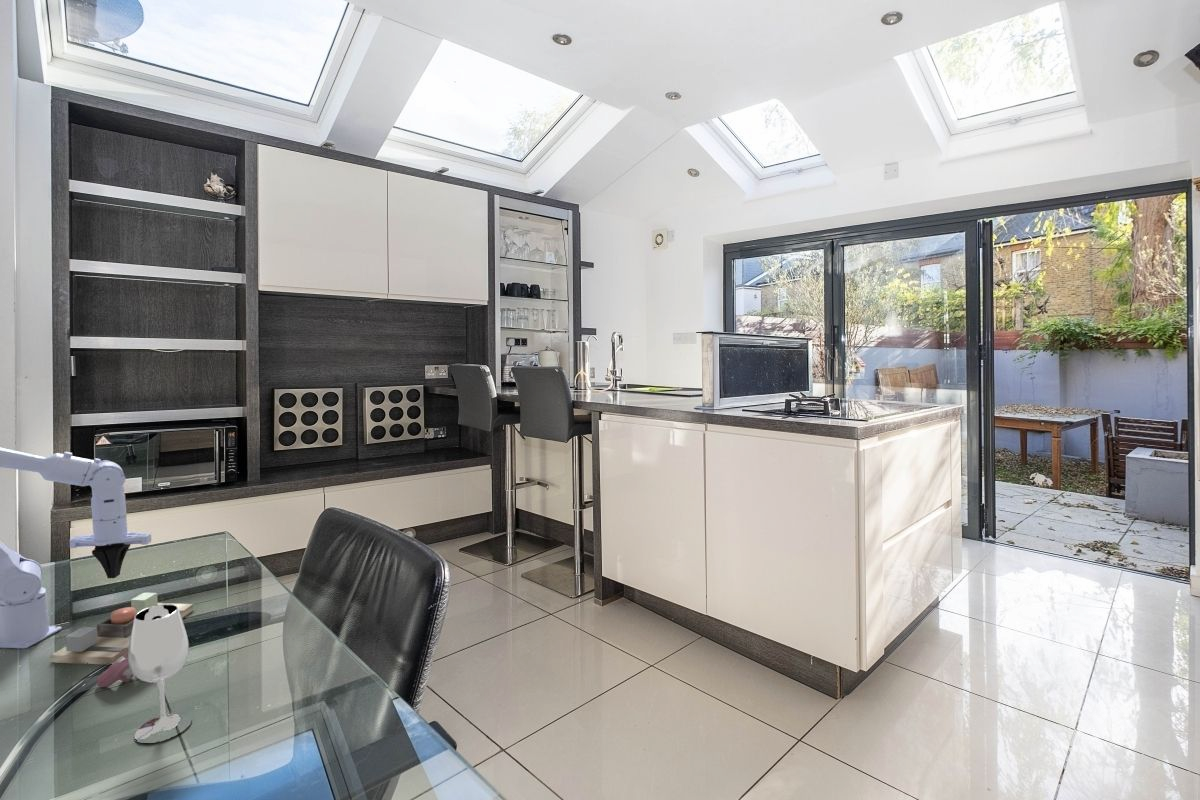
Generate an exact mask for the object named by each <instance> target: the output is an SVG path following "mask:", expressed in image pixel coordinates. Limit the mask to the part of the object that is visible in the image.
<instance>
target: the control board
mask: <svg viewBox="0 0 1200 800" xmlns="http://www.w3.org/2000/svg"><path fill="white" fill-rule="evenodd" d="M165 604H171V605H175V606H177V607H178V610H179V612H180V615H181V618H182V619H183V618H184V617H186V616H188V615H189V614H190V613H192V612H193V611H194V609H195V608H194V603H169V602H166V603H165V602H158V605H165ZM137 613H139V612H136V614H137ZM133 622H134V620H132V621H131V622H129V623H127V624H124V625H122V624H111V616H110V617H109V618H106V619H105V620H103V621H102V622H100V623H98V624H97V625H96V628H97V634H98V642H97V643H95V644H94V645H92V646H90V647H89V648H87V649H85V650H84V651H82V652H76V651H67V650H66V645H65V646H64V647H62V648H61V649H59V650H56V651H55V652H54V653H51V654H50V662H51V663H52V662H55V664H57V663H58V664H81V665H82V664H83V665H84V664H85V665H86V664H87V663H88V664H87V665H90V664H91V665H107V664H106V663H109V664H108V665H110V663H113V662H115V661H116V660H117V659H118V658H120V657H122V656H124V655H125V654H126V653H127V652H128V649H129V643H130V637H131V632H132V627H133Z"/></svg>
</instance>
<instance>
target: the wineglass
mask: <svg viewBox="0 0 1200 800" xmlns="http://www.w3.org/2000/svg"><path fill="white" fill-rule="evenodd" d="M189 643H190V642H189V638H188V634H187V630H186V627H185V624H184V621H183V618H181V615H180V612H179V610H178V607H177V606H175V605H171V604H165V605H158V606H153V607H150V608H147V609H144V610H142V611H140V612H139V613H137V614H136V615H135V618H134V622H133V627H132V632H131V637H130V643H129V649H128V665H129V669H130V671H131V673H132V674H133V675H134V676H133V677H135V678H136V679H137V680H140V681H142V682H146V683H155V684H156V686H157V689H158V697H159V712H160V713H159V714H160V715H159V716H160V717H159V718H156V717H154V718H152V719H150V720H148V721H146V722H145V723H144V724H142V725H141V726H139V728H138V729H136V731H135V732H134V737H135V738H134V740H135V739H145V738H147V737H149V736H150V735H151V734H154V733H156V732H159V731H166V730H171V729H172V728H175V727H176V726H177V725H178V722H179V721H180V719H181V718H180V717H179V715H178V714H175V713H173V712H170V713H171V714H168V713H167V712H166V698H165V684H166V680H168V679H170V678H172V677H173V676H174V675H175V674H177V673H178V672H179V671H180V670H181V669H182V668H183V666H184V665H185V663H186V661H187V659H188V657H189V654H190V652H189V651H190V644H189ZM166 714H168V715H166Z"/></svg>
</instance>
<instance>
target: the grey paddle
mask: <svg viewBox="0 0 1200 800" xmlns="http://www.w3.org/2000/svg"><path fill="white" fill-rule="evenodd" d="M64 637H65V646H66V650H67V651H76V652H82V651H84V650H85V649H87V648H89V647H90V646H92V645H94V644H95V643H97V642H98V634H97V627H92V626H91V627H89V626H87V627H86V626H85V627H84V626H81V627H80V628H78V629H76V630H75V631H72V632H71V633H69V634H67V635H66V636H64Z"/></svg>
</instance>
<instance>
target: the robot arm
mask: <svg viewBox="0 0 1200 800" xmlns="http://www.w3.org/2000/svg"><path fill="white" fill-rule="evenodd" d="M0 468H4V469H5V468H6V469H12V470H19V471H26V472H33V473H38V474H39V475H41V477H42V479H43V480H45V481H50V482H55V483H61V484H67V485H72V486H74V485H75V486H79V487H87V486H90V488H91V495H92V497H91V498H90V507H91V517H92V518H91V519H92V530H93V531H92V533H93V534H89V535H80V536H74V537H72V538H70V539H69V548H70V549H76V548H78V547H80V548H81V547H83V548H84V547H94V549H92V550H91V555H93V556H94V557H95V559H96V560H97V561H98V562H99V564H101V566H102V568H103V570H104V572H105V575H106V577H107V579H115V578H117V577H118V576H120V575H121V570H122V566H123V562H124V559H125V558H126V557H125V556H126V555H127V552H128V550H129V549H130V547H131V546H132V545H141V546H144V545H148V544H150V543H151V542H152V534H151V532H149V533H146V532H145V533H143V532H130V531H128V520H127V505H126V493H124V491H125V486H124V485H125V482H126V476H125V473H124V470H123V468H122V467H121V466H120V465H119V464H118V463H116V462H114V461H110V460H108V459H107V460H106V459H105V460H101V458H96V457H95V458H94V459H90V458H85V457H84V458H83V457H79V456H74V455H73V452H69V451H64V452H63V453H60V452H56V453H53V454H51V455H47V456H41V455H36V454H32V453H28V452H23V451H18V450H14V449H9V448H5V447H1V446H0ZM42 575H43V567H42V565H41V564H40V563H39V562H37V561H36V560H34V559H30V558H26V557H25V556H23V555H21V554H20V553H19V552H17V551H16V550H13V549H11V548H9V547H8V546H7V545H6V544H5V543H3V542H2V541H1V540H0V648H1V649H28V648H30V647H31V646H33V645H35V644H37V643H38V642H41V641H42V640H44V639H46V638H48V637H50V636H51V635H53V634H56V633H57V632H59V631H61V630H62V626H55V625H54V626H53V625H52V626H51V625H50V618H49V608H48V597H47V589H46V588H45V587H43V586H42V584H43V583H42Z"/></svg>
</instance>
